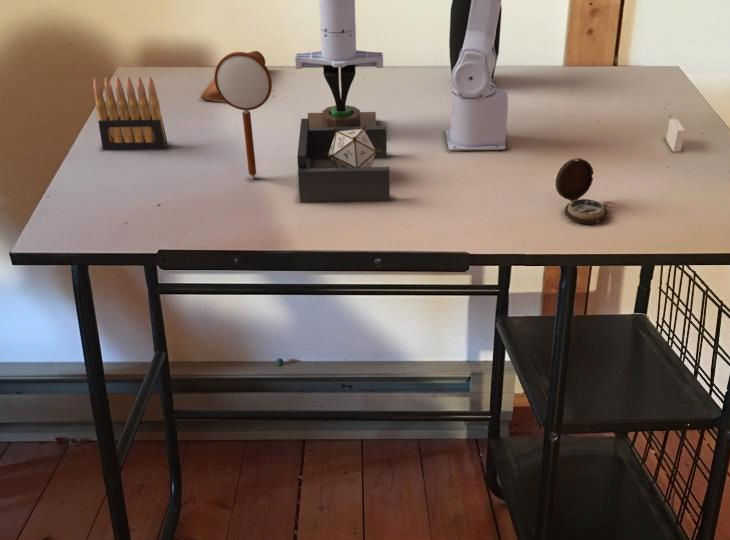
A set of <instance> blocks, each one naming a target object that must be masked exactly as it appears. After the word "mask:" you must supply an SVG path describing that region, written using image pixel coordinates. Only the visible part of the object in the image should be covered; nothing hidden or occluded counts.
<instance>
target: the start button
mask: <svg viewBox="0 0 730 540" xmlns="http://www.w3.org/2000/svg"><path fill="white" fill-rule="evenodd" d="M332 106H333V107H332V108H331V115H332V116H334V117H347V116H350V115H352V109H351V107H349V106H350V105H348V106H347V104H345V111H337V108H336V105H332Z"/></svg>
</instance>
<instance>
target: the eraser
mask: <svg viewBox="0 0 730 540" xmlns="http://www.w3.org/2000/svg"><path fill="white" fill-rule="evenodd" d="M685 131H686V130H685V129H684V127H683V126H682V124H681V123H680V121H679V120H678V118H670V119H669V123H668V127H667V132H666V138H665V140H666V142H667V144H668V145H669V147H670V149H671V150H672V152H674V153H675V152H681V151H682V146H683V143H684V138H685Z"/></svg>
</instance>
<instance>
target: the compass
mask: <svg viewBox="0 0 730 540" xmlns="http://www.w3.org/2000/svg"><path fill="white" fill-rule="evenodd" d="M593 175H594V169H593V167H592V165H591V163H589V162H588V161H587V160H586V159H583V158H579V157H574V158H571V159H569V160H568V161H566V162H564V164H563V165H562V166H561V167H560V168H559V170H558V172H557V174H556V178H555V190H556V192H557V193H558V195H559V196H560V197H561V198H563V199H565V200H569V201H570V202H569V203H567V204H566V205H565V207H564V215H565V216H566V217H567V219H569V220H570V221H573V222H574V223H578V224H583V225H593V224H598V223H601V222H603V221H604V220H605V219H606V218H607V217H608V210H607V209H614V208H615V207H616V203H615V202H613V201H604V202H603V203H601V202H599V201H597V200H594V199H587V198H582V197H583V196H584V195H585V194H586V193H587V192H588V191H589V189H590V188H591V186H592V183H593V182H594V181H593V180H594V178H593ZM608 203H609V204H612V205H613V206H609V205H608Z"/></svg>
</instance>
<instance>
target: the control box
mask: <svg viewBox="0 0 730 540" xmlns="http://www.w3.org/2000/svg"><path fill="white" fill-rule="evenodd" d="M346 105H347V104H346ZM333 106H334V105H332V106H328V107H326V108H324V109H323V110H322V111H321V112H308V113H307V118H306V119H309V128H319V127H363V125H364V124H366V126H367V127H377V114H376V113H377V111H361V110H360V109H359V108H357V107H356V106H352V105H347V106H349V107H351V109H352V115H350V116H347V117H334V116H332V115H331V108H332V107H333Z"/></svg>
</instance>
